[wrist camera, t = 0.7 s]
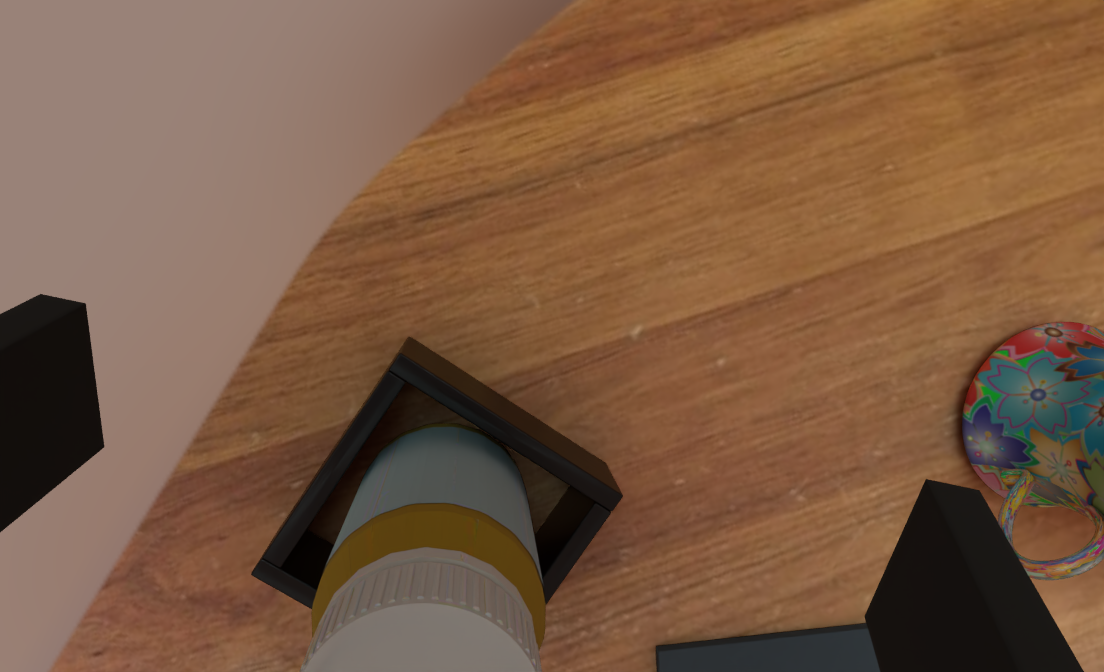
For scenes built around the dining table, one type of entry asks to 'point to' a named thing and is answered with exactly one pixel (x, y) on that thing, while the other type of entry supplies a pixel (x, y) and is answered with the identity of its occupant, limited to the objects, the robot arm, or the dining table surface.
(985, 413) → the mug
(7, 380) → the robot arm
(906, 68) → the dining table surface
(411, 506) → the bottle
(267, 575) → the holder
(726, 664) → the mat
